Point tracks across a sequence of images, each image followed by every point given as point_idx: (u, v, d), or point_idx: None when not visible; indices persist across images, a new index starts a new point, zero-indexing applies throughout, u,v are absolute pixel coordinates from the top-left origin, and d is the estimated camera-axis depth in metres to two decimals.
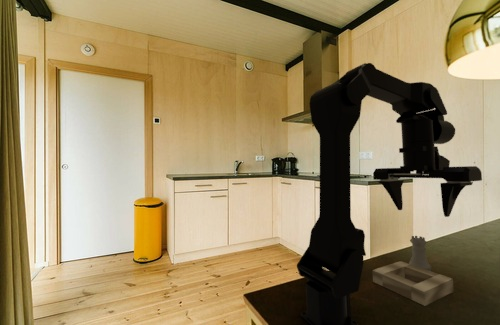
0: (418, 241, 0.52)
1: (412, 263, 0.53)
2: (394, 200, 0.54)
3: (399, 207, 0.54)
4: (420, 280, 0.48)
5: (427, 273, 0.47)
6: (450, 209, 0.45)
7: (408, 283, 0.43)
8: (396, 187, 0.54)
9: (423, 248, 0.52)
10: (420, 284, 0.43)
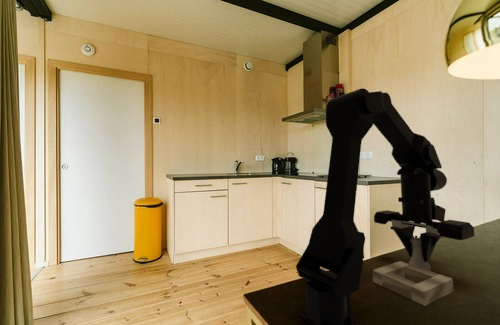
0: (418, 241, 0.52)
1: (412, 263, 0.53)
2: (406, 247, 0.55)
3: (411, 254, 0.54)
4: (420, 280, 0.48)
5: (427, 273, 0.47)
6: (429, 255, 0.51)
7: (408, 283, 0.43)
8: (408, 234, 0.55)
9: None
10: (420, 284, 0.43)
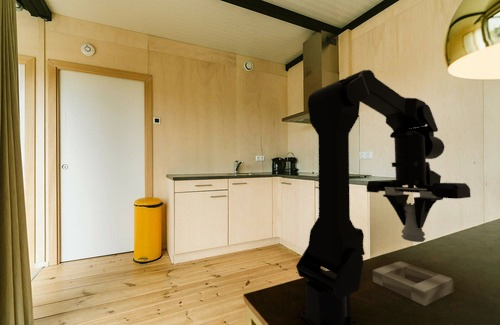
0: (412, 207, 0.50)
1: (405, 230, 0.51)
2: (399, 215, 0.52)
3: (404, 222, 0.52)
4: (420, 280, 0.48)
5: (427, 273, 0.47)
6: (423, 221, 0.49)
7: (408, 283, 0.43)
8: (401, 201, 0.53)
9: None
10: (420, 284, 0.43)
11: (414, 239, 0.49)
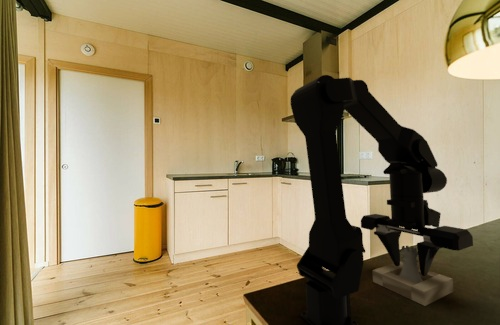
0: (409, 252, 0.46)
1: None
2: (391, 255, 0.49)
3: (396, 263, 0.49)
4: None
5: (427, 273, 0.47)
6: (427, 268, 0.44)
7: (408, 283, 0.43)
8: (393, 240, 0.49)
9: (414, 260, 0.46)
10: (420, 284, 0.43)
11: None
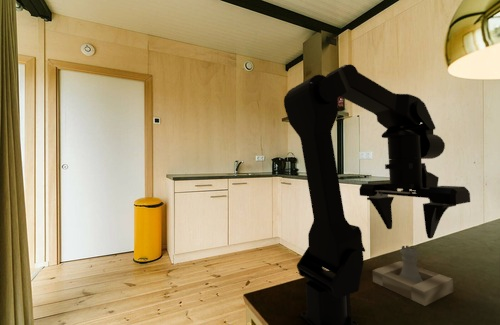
0: (409, 252, 0.46)
1: None
2: (383, 218, 0.51)
3: (388, 226, 0.50)
4: None
5: (427, 273, 0.47)
6: (433, 230, 0.43)
7: (408, 283, 0.43)
8: (385, 204, 0.51)
9: (414, 260, 0.46)
10: (420, 284, 0.43)
11: None
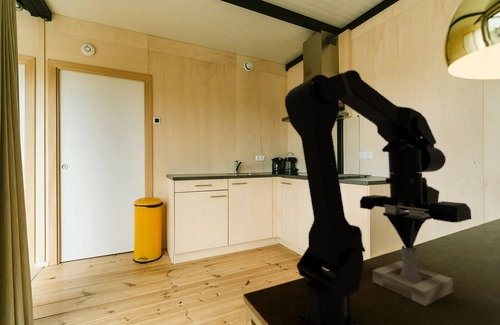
0: (409, 252, 0.46)
1: None
2: (401, 236, 0.47)
3: (407, 244, 0.47)
4: None
5: (427, 273, 0.47)
6: (412, 241, 0.46)
7: (408, 283, 0.43)
8: None
9: (414, 260, 0.46)
10: (420, 284, 0.43)
11: None
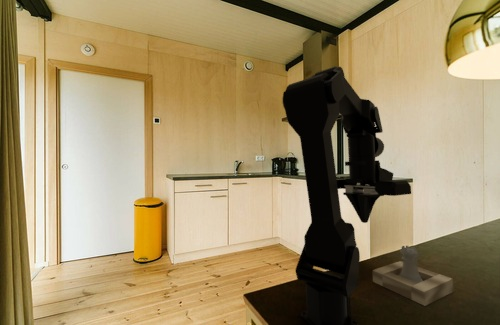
0: (409, 252, 0.46)
1: None
2: (357, 212, 0.53)
3: (362, 219, 0.53)
4: None
5: (427, 273, 0.47)
6: (367, 216, 0.53)
7: (408, 283, 0.43)
8: None
9: (414, 260, 0.46)
10: (420, 284, 0.43)
11: None
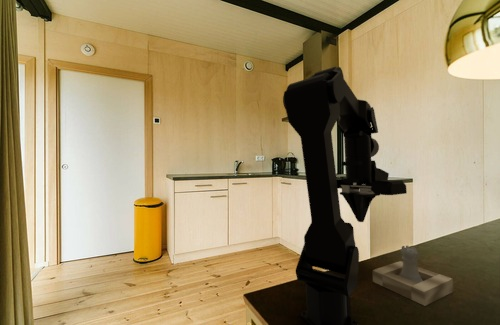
0: (409, 252, 0.46)
1: None
2: (354, 212, 0.54)
3: (359, 219, 0.54)
4: None
5: (427, 273, 0.47)
6: (363, 215, 0.53)
7: (408, 283, 0.43)
8: None
9: (414, 260, 0.46)
10: (420, 284, 0.43)
11: None
